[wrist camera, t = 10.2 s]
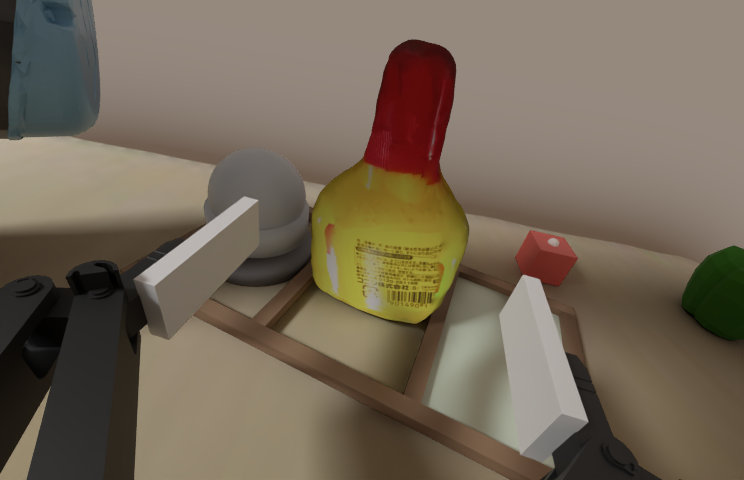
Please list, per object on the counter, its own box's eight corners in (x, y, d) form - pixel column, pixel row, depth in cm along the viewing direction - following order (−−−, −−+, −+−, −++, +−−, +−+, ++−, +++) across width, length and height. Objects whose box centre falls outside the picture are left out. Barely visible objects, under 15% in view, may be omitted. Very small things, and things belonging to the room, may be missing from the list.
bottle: (293, 302, 27) (311, 17, 16) (322, 259, 32) (351, 23, 21) (431, 349, 26) (558, 73, 14) (438, 296, 31) (535, 64, 20)
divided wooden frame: (123, 279, 26) (118, 264, 25) (267, 197, 40) (267, 186, 39) (605, 528, 18) (622, 519, 17) (568, 315, 32) (576, 304, 31)
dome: (183, 238, 28) (167, 148, 23) (252, 200, 35) (250, 126, 30) (269, 276, 26) (269, 186, 21) (323, 228, 33) (332, 153, 28)
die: (523, 278, 36) (543, 245, 33) (515, 257, 39) (532, 225, 37) (558, 286, 36) (581, 253, 33) (547, 264, 39) (566, 233, 37)
